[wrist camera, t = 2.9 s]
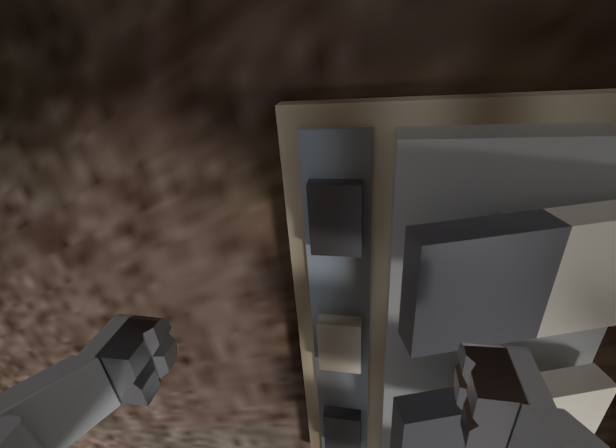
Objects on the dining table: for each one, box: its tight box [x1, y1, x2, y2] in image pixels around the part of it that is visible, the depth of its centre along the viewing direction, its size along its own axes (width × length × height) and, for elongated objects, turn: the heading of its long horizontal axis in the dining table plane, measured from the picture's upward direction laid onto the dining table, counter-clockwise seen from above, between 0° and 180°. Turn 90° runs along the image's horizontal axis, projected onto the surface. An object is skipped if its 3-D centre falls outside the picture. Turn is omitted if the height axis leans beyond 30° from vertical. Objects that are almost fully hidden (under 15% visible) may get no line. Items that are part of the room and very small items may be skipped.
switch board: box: [275, 88, 616, 448], centre depth 20 cm, size 15×26×2 cm, turn 4°
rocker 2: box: [390, 363, 616, 448], centre depth 16 cm, size 9×4×2 cm, turn 94°
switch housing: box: [380, 121, 616, 448], centre depth 18 cm, size 9×24×2 cm, turn 4°
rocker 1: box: [398, 200, 616, 358], centre depth 12 cm, size 9×4×2 cm, turn 94°
